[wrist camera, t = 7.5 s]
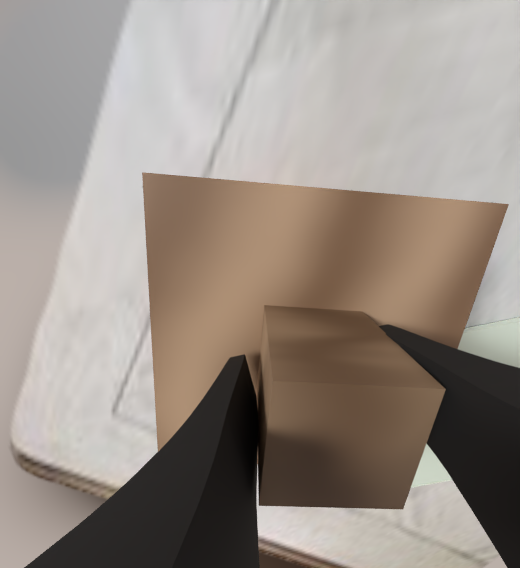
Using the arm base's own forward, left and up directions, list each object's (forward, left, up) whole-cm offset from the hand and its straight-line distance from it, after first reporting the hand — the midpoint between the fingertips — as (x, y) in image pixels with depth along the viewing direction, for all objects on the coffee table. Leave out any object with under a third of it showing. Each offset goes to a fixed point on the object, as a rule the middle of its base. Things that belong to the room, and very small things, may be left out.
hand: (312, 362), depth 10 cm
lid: (0, 0, -2) cm, 2 cm away
